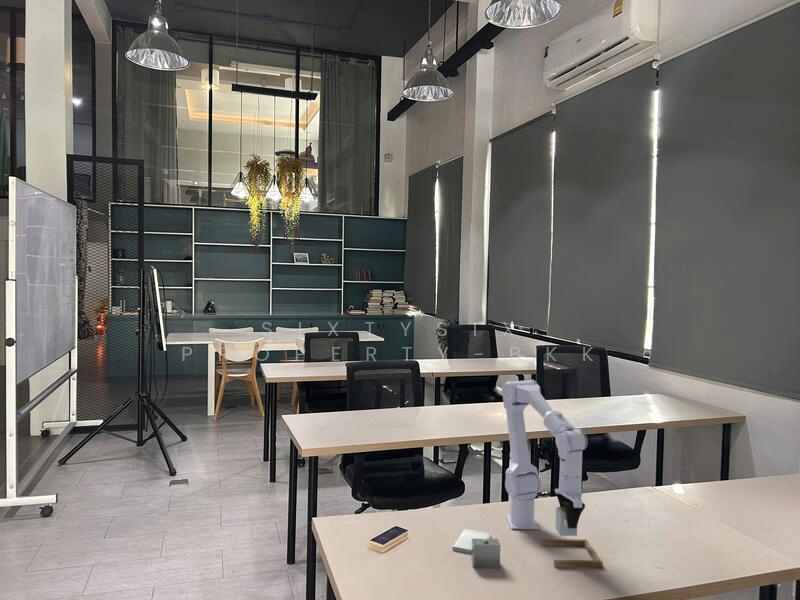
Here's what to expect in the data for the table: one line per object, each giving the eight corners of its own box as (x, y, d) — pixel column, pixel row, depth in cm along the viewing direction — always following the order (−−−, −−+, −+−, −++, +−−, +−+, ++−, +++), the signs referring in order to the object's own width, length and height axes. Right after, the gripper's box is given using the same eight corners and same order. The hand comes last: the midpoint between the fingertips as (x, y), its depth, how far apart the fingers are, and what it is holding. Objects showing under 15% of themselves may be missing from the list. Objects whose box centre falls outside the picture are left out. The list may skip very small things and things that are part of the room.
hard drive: (481, 552, 154) (491, 533, 165) (452, 546, 157) (464, 528, 168) (481, 558, 154) (491, 538, 165) (452, 552, 157) (463, 533, 168)
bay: (542, 544, 161) (542, 538, 161) (586, 544, 161) (586, 539, 161) (554, 567, 148) (554, 561, 148) (602, 568, 148) (602, 562, 148)
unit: (471, 560, 151) (471, 535, 151) (497, 560, 151) (497, 536, 151) (473, 567, 147) (473, 542, 147) (499, 568, 147) (500, 543, 147)
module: (555, 528, 157) (556, 505, 156) (571, 528, 157) (572, 505, 156) (560, 535, 152) (560, 512, 152) (577, 535, 152) (577, 512, 152)
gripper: (548, 465, 161) (547, 512, 161) (563, 483, 146) (562, 535, 147) (573, 465, 161) (572, 512, 161) (590, 484, 146) (589, 535, 147)
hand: (569, 523), depth 154 cm, fingers closed on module, 5 cm apart
